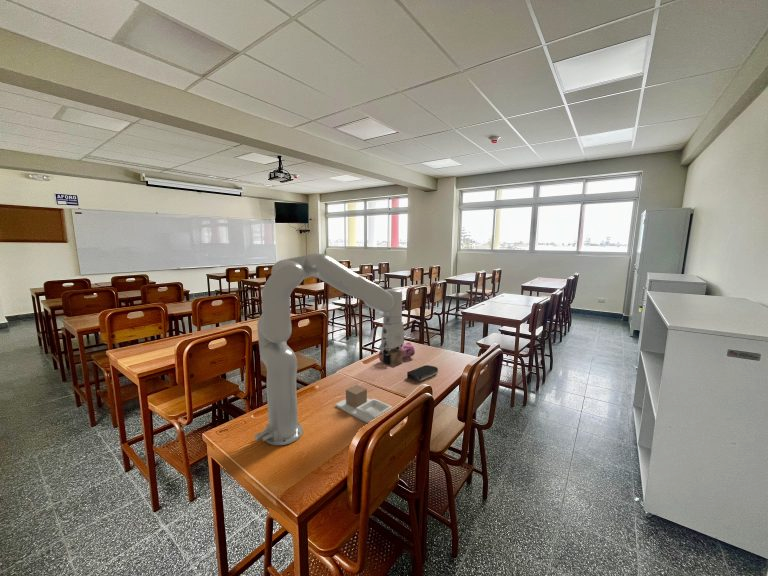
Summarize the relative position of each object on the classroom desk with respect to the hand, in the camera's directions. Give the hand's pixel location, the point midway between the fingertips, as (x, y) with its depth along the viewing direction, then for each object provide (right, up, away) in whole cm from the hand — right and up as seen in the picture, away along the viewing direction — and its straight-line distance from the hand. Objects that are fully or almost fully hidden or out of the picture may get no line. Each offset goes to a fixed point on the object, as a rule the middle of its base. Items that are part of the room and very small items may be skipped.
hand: (392, 361), depth 128 cm
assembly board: (-11, -18, -5) cm, 22 cm away
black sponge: (+16, -14, +27) cm, 34 cm away
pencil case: (+4, -11, +48) cm, 49 cm away
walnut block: (0, -1, 0) cm, 1 cm away
